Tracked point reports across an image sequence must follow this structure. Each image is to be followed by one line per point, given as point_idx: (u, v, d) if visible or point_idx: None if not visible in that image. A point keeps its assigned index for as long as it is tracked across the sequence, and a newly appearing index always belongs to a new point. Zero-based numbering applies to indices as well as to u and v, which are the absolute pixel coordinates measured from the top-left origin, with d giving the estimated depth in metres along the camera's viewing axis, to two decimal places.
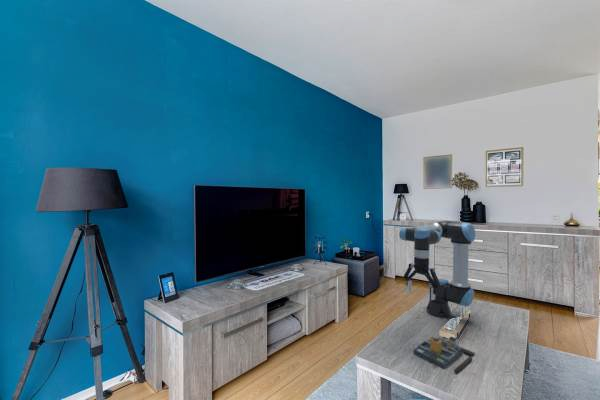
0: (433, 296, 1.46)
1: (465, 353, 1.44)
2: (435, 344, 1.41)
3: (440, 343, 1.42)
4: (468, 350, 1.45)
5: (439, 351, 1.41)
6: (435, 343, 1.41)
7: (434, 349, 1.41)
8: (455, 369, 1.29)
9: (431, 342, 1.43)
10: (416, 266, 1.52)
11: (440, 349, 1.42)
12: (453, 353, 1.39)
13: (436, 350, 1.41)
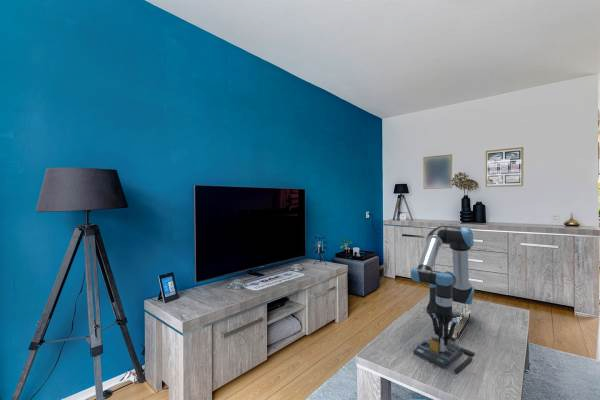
0: (444, 347, 1.39)
1: (465, 353, 1.44)
2: (434, 344, 1.41)
3: (439, 343, 1.42)
4: (468, 350, 1.45)
5: (438, 351, 1.41)
6: (434, 343, 1.41)
7: (433, 349, 1.42)
8: (455, 369, 1.29)
9: (430, 342, 1.43)
10: (437, 312, 1.41)
11: (439, 349, 1.42)
12: (453, 353, 1.39)
13: (435, 350, 1.41)
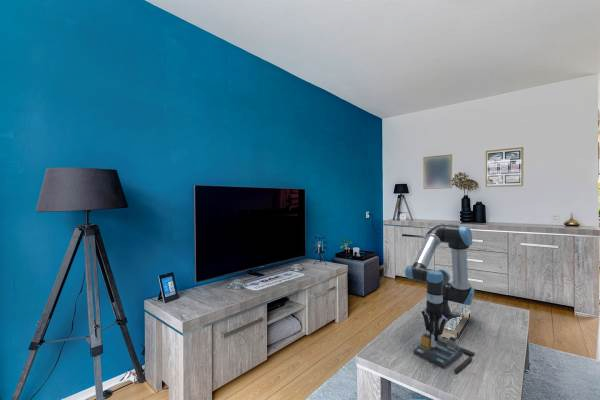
0: (434, 343, 1.43)
1: (465, 353, 1.44)
2: (426, 340, 1.45)
3: (430, 339, 1.45)
4: (468, 350, 1.45)
5: (429, 347, 1.45)
6: (426, 339, 1.45)
7: (425, 345, 1.45)
8: (455, 369, 1.29)
9: (422, 338, 1.47)
10: (428, 309, 1.45)
11: None
12: (453, 353, 1.39)
13: (427, 346, 1.45)
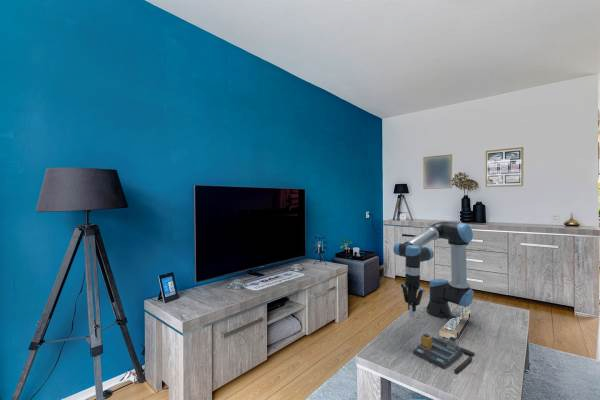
0: (412, 313, 1.52)
1: (465, 353, 1.44)
2: (426, 340, 1.45)
3: (430, 339, 1.45)
4: (468, 350, 1.45)
5: (429, 347, 1.45)
6: (426, 339, 1.45)
7: (425, 345, 1.45)
8: (455, 369, 1.29)
9: (422, 338, 1.47)
10: (407, 282, 1.54)
11: (430, 345, 1.46)
12: (453, 353, 1.39)
13: (426, 346, 1.45)
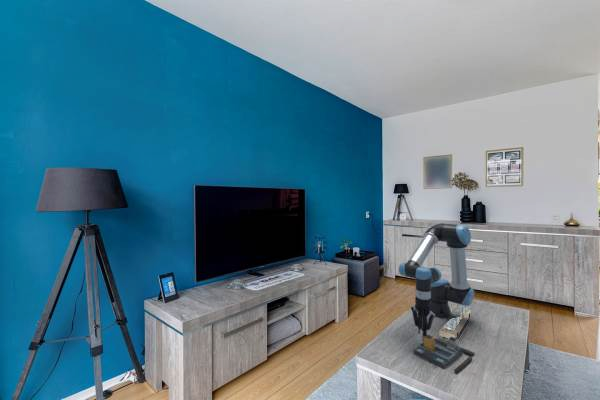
0: (423, 338, 1.48)
1: (465, 353, 1.44)
2: (428, 341, 1.44)
3: (433, 340, 1.44)
4: (468, 350, 1.45)
5: (432, 348, 1.44)
6: (428, 340, 1.44)
7: (427, 346, 1.44)
8: (455, 369, 1.29)
9: (424, 339, 1.45)
10: (417, 305, 1.49)
11: (433, 346, 1.45)
12: (453, 353, 1.39)
13: (429, 347, 1.43)
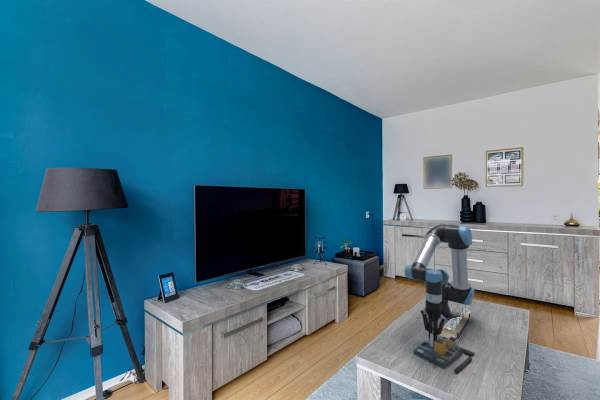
0: (433, 343, 1.43)
1: (465, 353, 1.44)
2: (439, 346, 1.39)
3: (444, 345, 1.40)
4: (468, 350, 1.45)
5: (443, 353, 1.39)
6: (439, 345, 1.39)
7: (438, 351, 1.40)
8: (455, 369, 1.29)
9: (435, 344, 1.41)
10: (427, 309, 1.45)
11: (444, 351, 1.40)
12: (453, 353, 1.39)
13: (440, 352, 1.39)
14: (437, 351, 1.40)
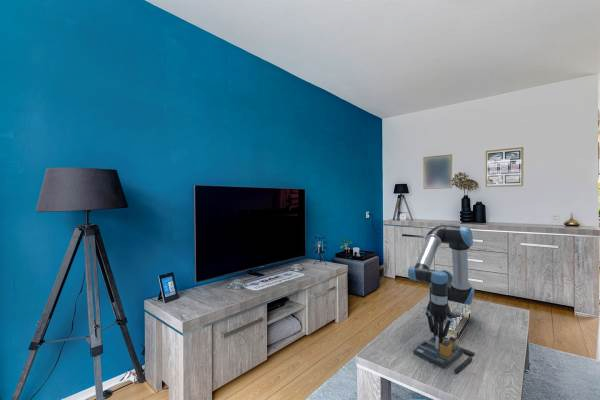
0: (439, 345, 1.41)
1: (465, 353, 1.44)
2: (445, 348, 1.37)
3: (450, 347, 1.38)
4: (468, 350, 1.45)
5: (449, 356, 1.37)
6: (445, 347, 1.37)
7: (444, 354, 1.38)
8: (455, 369, 1.29)
9: (441, 346, 1.39)
10: (432, 310, 1.43)
11: (450, 354, 1.38)
12: (453, 353, 1.39)
13: (446, 355, 1.37)
14: (443, 354, 1.38)
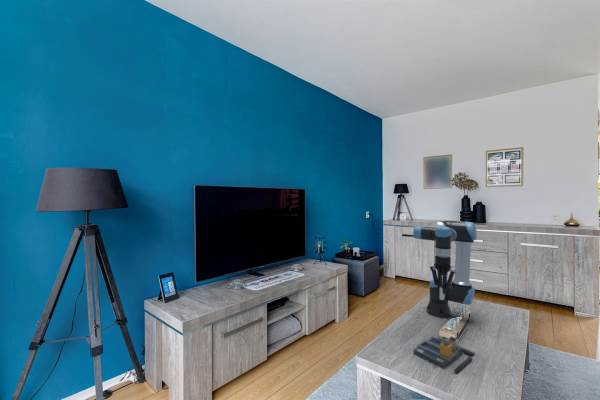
0: (443, 296, 1.49)
1: (465, 353, 1.44)
2: (445, 348, 1.37)
3: (450, 347, 1.38)
4: (468, 350, 1.45)
5: (449, 356, 1.37)
6: (445, 347, 1.37)
7: (444, 354, 1.37)
8: (455, 369, 1.29)
9: (441, 346, 1.39)
10: (436, 264, 1.51)
11: (450, 354, 1.38)
12: (453, 353, 1.39)
13: (446, 355, 1.37)
14: (443, 354, 1.38)
